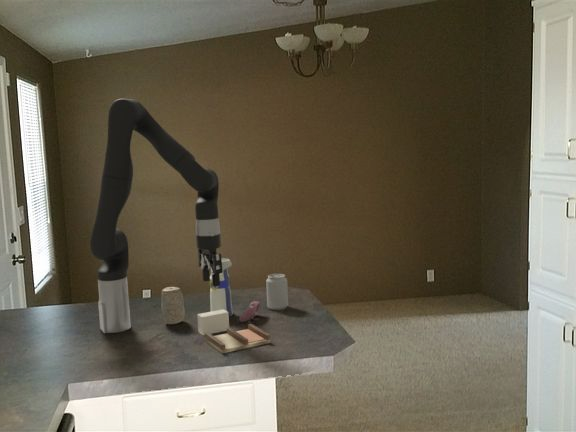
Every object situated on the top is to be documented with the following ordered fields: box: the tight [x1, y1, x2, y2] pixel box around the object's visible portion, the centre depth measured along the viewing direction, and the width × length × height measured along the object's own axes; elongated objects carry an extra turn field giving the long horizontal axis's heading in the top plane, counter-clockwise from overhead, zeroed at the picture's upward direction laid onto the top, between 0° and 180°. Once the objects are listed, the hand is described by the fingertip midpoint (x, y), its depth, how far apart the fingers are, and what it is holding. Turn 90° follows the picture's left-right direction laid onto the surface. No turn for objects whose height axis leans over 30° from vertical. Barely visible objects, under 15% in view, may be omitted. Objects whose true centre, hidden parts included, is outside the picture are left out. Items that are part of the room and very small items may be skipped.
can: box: [265, 273, 289, 311], centre depth 211 cm, size 8×8×12 cm
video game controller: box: [239, 300, 262, 323], centre depth 200 cm, size 10×5×7 cm, turn 168°
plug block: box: [196, 309, 230, 336], centre depth 188 cm, size 9×4×6 cm, turn 119°
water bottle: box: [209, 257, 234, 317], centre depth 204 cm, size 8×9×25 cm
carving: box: [160, 286, 186, 325], centre depth 198 cm, size 6×8×12 cm
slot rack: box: [204, 323, 271, 354], centre depth 177 cm, size 16×13×2 cm
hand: (211, 283), depth 186 cm, fingers open, 8 cm apart
